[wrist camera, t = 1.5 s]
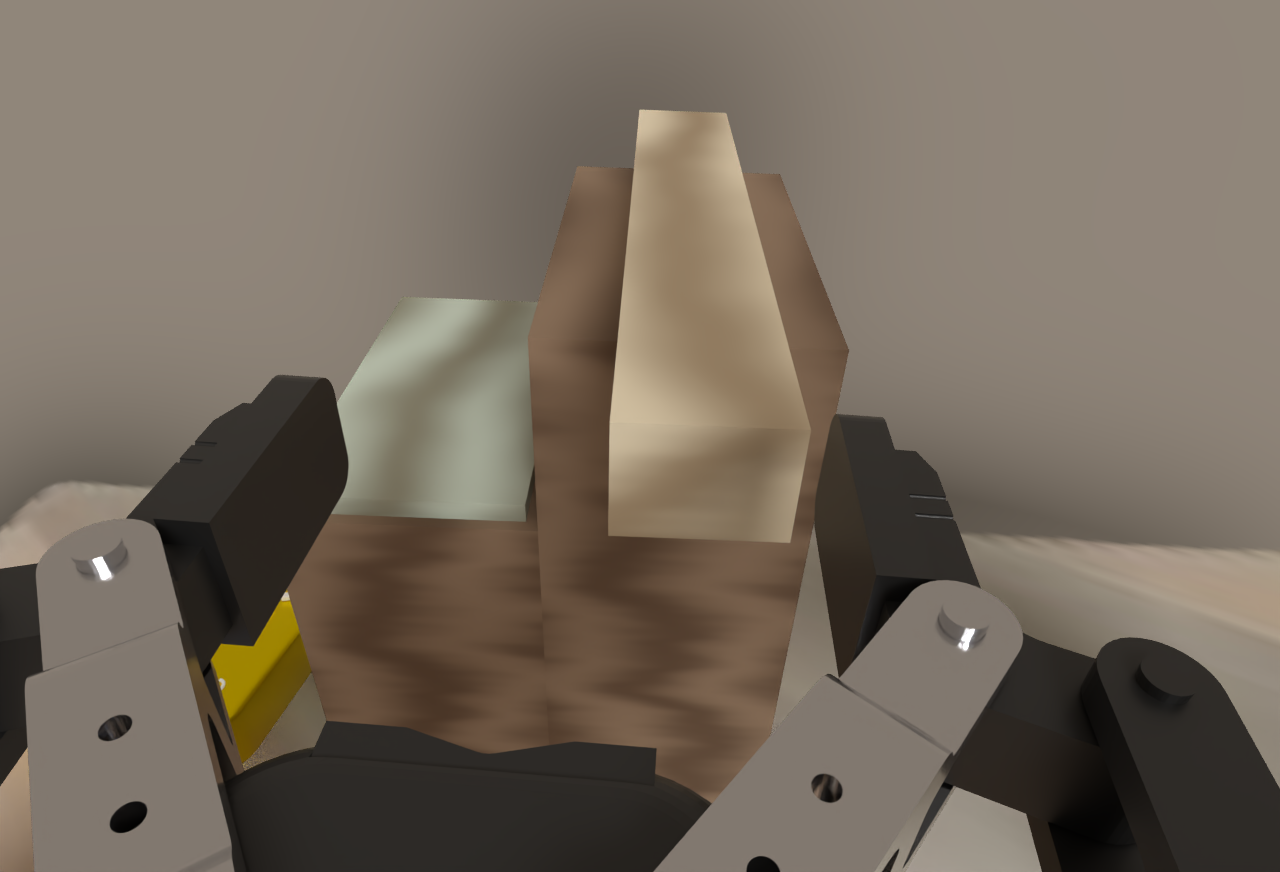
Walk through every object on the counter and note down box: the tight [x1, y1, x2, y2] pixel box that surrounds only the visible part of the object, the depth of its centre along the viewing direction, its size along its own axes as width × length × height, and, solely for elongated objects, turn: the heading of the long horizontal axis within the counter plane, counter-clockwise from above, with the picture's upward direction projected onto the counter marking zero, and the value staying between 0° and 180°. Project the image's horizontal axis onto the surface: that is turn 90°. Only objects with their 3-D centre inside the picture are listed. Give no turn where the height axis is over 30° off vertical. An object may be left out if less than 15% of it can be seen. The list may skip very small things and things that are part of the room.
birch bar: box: [608, 110, 811, 543], centre depth 28 cm, size 4×26×3 cm, turn 179°
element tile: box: [211, 590, 312, 763], centre depth 53 cm, size 15×15×5 cm
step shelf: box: [287, 166, 849, 803], centre depth 42 cm, size 20×18×32 cm
